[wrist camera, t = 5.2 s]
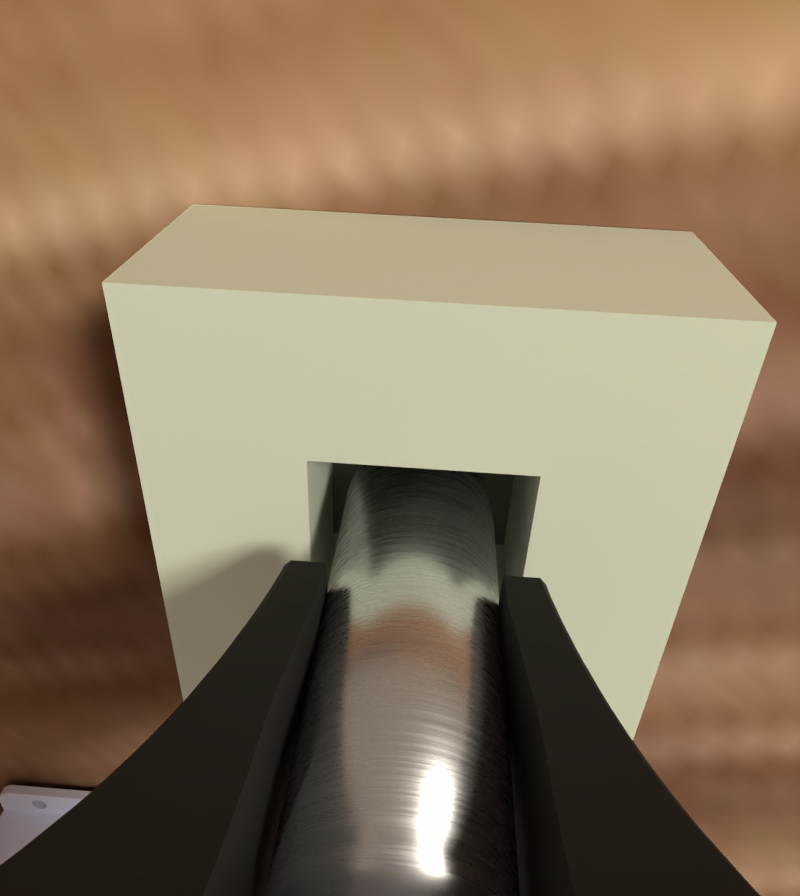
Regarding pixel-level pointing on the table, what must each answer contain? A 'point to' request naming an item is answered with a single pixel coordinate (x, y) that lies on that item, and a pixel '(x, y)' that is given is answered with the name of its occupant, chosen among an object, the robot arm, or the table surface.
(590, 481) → the bore block
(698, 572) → the table surface
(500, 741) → the pin
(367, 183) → the table surface
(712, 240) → the table surface
